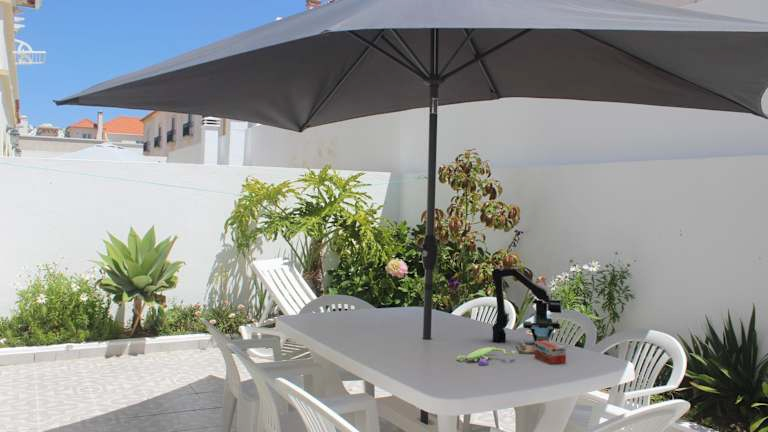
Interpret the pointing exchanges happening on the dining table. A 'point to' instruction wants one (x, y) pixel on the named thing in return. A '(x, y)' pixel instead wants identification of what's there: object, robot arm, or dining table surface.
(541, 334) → the drive
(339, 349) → the dining table surface
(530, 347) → the pin tray
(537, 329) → the data package
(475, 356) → the figurine
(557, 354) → the medicine box
